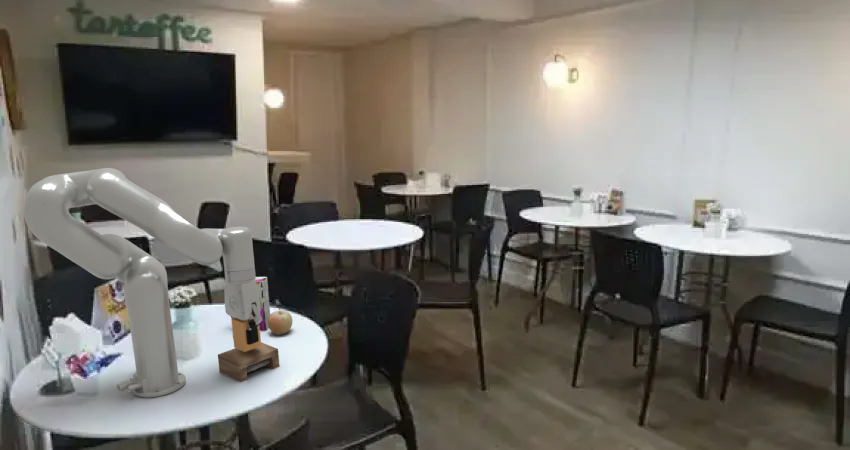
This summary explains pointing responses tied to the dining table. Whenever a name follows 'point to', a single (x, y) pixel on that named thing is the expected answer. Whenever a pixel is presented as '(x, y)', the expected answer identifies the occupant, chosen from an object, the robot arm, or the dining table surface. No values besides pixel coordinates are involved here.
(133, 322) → the robot arm
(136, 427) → the dining table surface
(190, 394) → the dining table surface
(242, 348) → the upright orange cuboid
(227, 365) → the shelf
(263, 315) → the candy bar box
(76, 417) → the dining table surface
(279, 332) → the fruit
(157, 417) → the dining table surface
